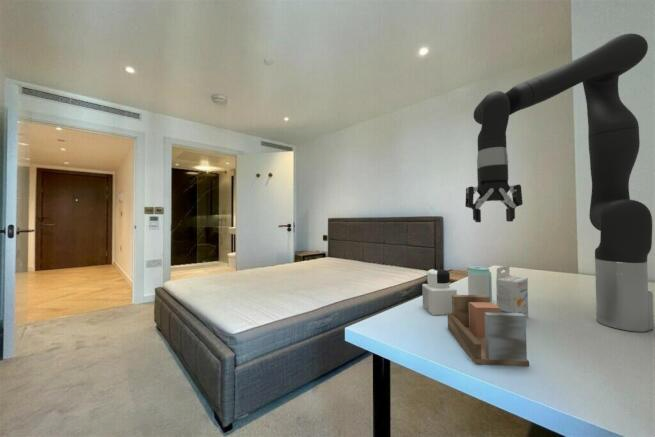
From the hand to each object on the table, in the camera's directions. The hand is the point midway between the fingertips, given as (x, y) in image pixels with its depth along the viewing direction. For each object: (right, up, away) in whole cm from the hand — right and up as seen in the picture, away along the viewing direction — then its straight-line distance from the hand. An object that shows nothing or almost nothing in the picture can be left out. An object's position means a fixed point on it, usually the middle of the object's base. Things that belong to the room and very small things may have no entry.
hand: (493, 221), depth 75 cm
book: (-9, -27, -11) cm, 31 cm away
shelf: (-11, -28, -14) cm, 34 cm away
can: (+5, -28, +15) cm, 32 cm away
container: (-12, -29, +8) cm, 32 cm away
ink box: (+6, -28, 0) cm, 29 cm away
